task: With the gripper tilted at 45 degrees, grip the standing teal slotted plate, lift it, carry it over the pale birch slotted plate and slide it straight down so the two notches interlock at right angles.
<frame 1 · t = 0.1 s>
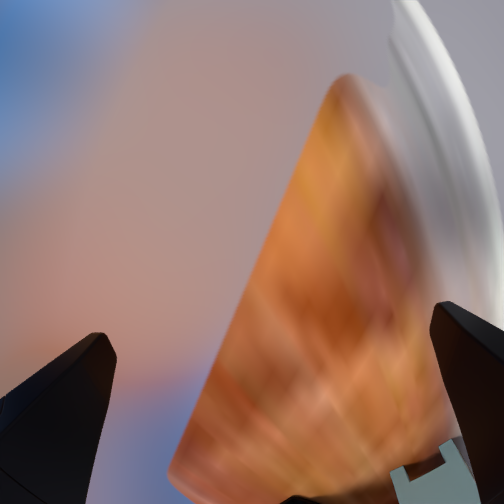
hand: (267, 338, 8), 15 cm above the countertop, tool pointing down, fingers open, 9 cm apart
teal slotted plate: (422, 460, 27), on the countertop
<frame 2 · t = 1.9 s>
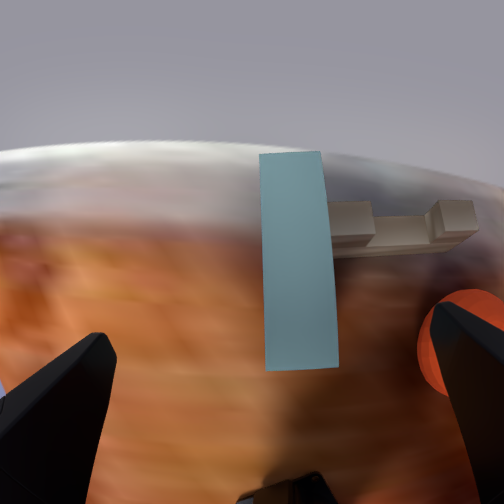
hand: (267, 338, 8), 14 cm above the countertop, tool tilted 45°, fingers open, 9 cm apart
birch slotted plate: (386, 242, 22), on the countertop
teal slotted plate: (292, 296, 22), on the countertop
clementine: (446, 350, 19), on the countertop
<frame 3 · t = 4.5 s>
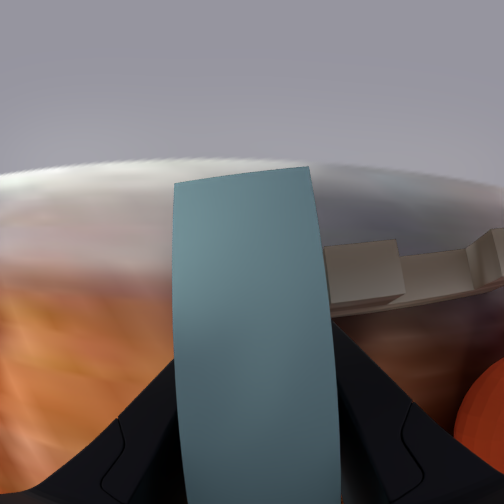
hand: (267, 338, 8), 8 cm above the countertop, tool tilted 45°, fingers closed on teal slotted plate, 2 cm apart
birch slotted plate: (411, 287, 15), on the countertop
teal slotted plate: (281, 374, 15), on the countertop, touching gripper
clementine: (486, 420, 12), on the countertop
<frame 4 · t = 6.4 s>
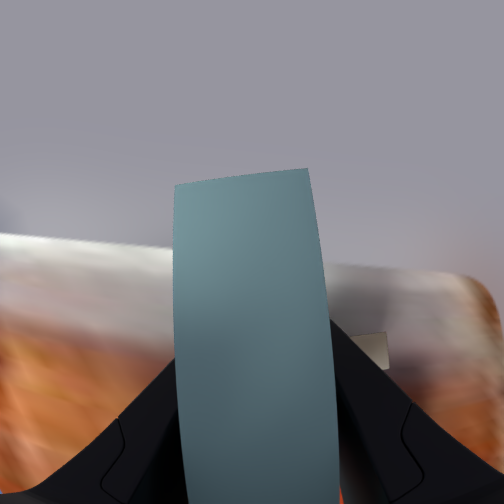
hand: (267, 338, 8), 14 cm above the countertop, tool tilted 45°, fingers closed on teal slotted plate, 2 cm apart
birch slotted plate: (293, 360, 21), on the countertop
teal slotted plate: (281, 374, 15), point 6 cm above the countertop, touching gripper
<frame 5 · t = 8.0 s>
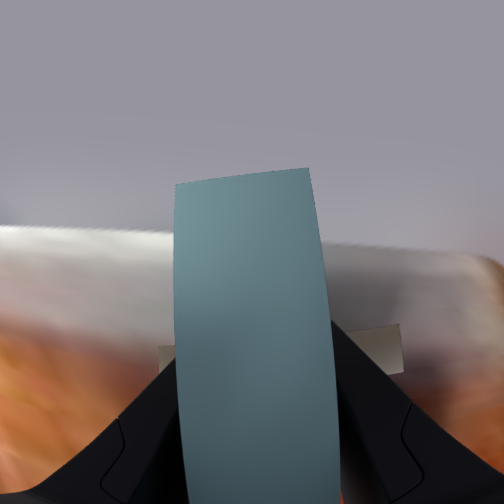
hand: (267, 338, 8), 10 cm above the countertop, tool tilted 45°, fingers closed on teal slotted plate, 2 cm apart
birch slotted plate: (283, 361, 17), on the countertop
teal slotted plate: (281, 374, 15), point 2 cm above the countertop, touching gripper
when the fingers open (8 cm above the countertop, at t = 8.8 s): teal slotted plate stays where it is, on the countertop.
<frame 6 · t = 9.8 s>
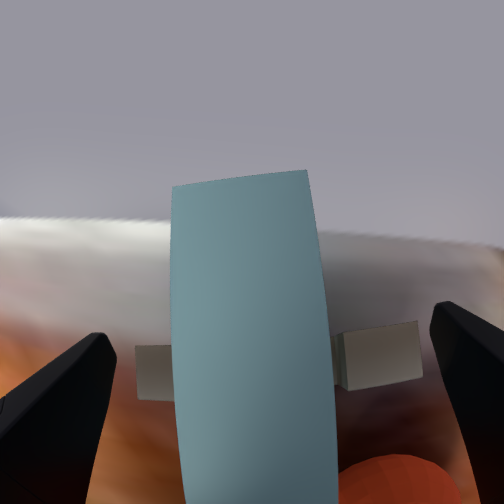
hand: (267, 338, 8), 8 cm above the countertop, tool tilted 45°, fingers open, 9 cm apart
birch slotted plate: (281, 364, 15), on the countertop
teal slotted plate: (281, 375, 15), on the countertop
clementine: (371, 500, 12), on the countertop
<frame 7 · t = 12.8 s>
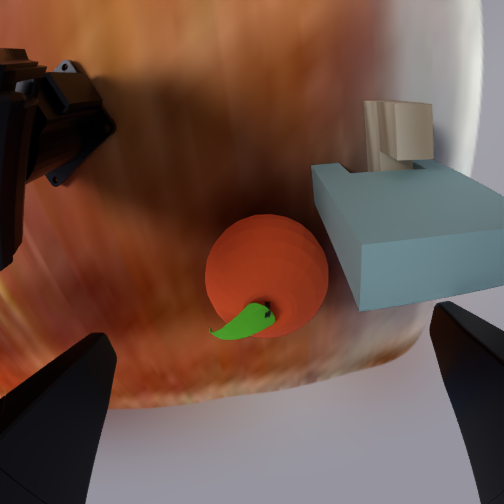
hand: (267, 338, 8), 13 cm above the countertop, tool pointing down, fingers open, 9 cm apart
birch slotted plate: (382, 179, 19), on the countertop
teal slotted plate: (374, 179, 19), on the countertop
clementine: (260, 252, 22), on the countertop
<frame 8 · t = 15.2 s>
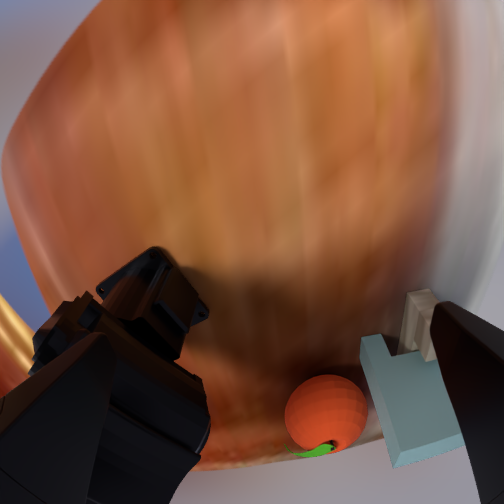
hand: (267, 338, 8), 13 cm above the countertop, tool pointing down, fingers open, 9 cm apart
birch slotted plate: (409, 339, 25), on the countertop
teal slotted plate: (403, 339, 25), on the countertop
clementine: (316, 385, 27), on the countertop
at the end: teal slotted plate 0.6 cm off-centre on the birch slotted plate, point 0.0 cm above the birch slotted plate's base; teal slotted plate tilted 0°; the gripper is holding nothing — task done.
